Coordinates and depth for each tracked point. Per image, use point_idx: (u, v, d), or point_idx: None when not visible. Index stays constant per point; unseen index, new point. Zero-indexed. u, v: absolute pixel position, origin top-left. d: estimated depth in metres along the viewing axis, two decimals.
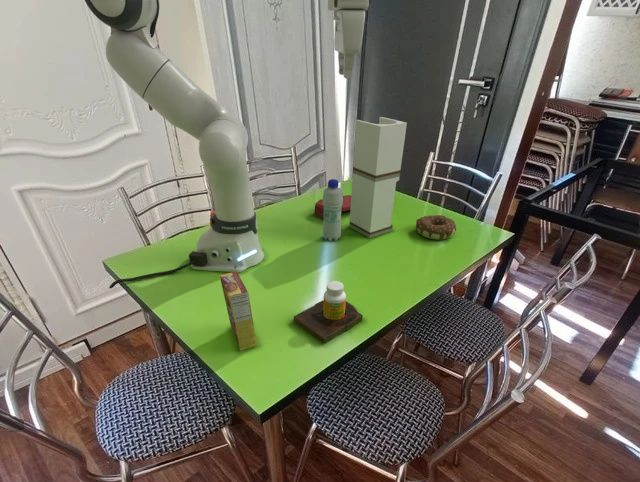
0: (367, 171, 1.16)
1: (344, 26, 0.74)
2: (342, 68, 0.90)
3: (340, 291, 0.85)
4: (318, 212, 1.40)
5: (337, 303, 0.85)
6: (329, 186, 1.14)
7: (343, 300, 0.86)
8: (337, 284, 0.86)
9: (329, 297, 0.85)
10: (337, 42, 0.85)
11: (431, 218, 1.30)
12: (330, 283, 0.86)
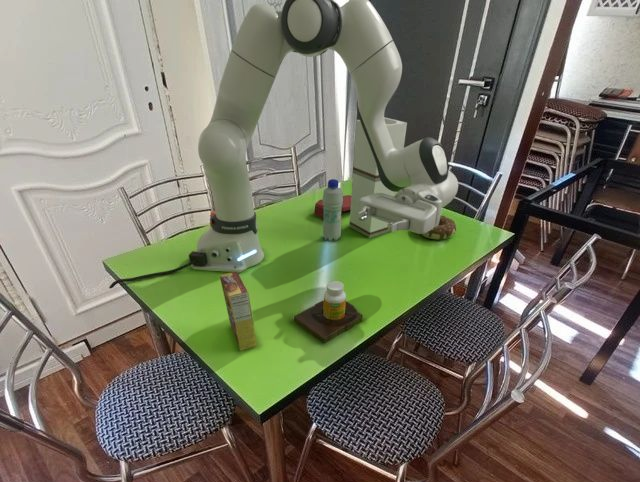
0: (367, 171, 1.16)
1: (433, 213, 0.83)
2: (365, 215, 0.88)
3: (340, 291, 0.85)
4: (318, 212, 1.40)
5: (337, 303, 0.85)
6: (329, 186, 1.14)
7: (343, 300, 0.86)
8: (337, 284, 0.86)
9: (329, 297, 0.85)
10: (385, 204, 0.88)
11: None
12: (330, 283, 0.86)
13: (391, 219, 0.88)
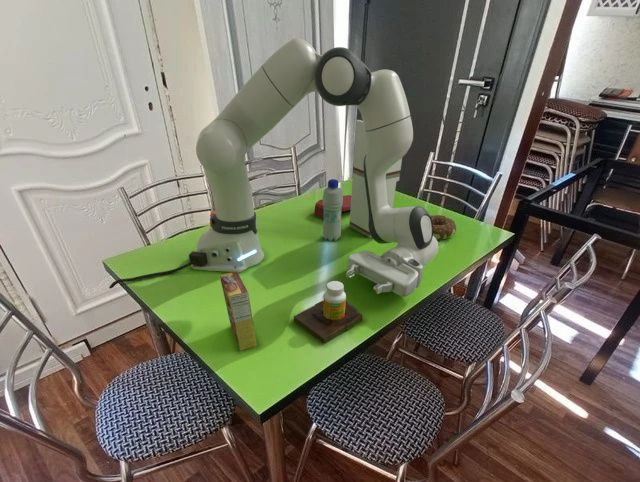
0: None
1: (415, 278, 0.91)
2: (353, 274, 0.95)
3: (340, 291, 0.85)
4: (318, 212, 1.40)
5: (337, 303, 0.85)
6: (329, 186, 1.14)
7: (343, 300, 0.86)
8: (337, 284, 0.86)
9: (329, 297, 0.85)
10: (372, 265, 0.96)
11: (431, 218, 1.30)
12: (330, 283, 0.86)
13: (377, 279, 0.95)
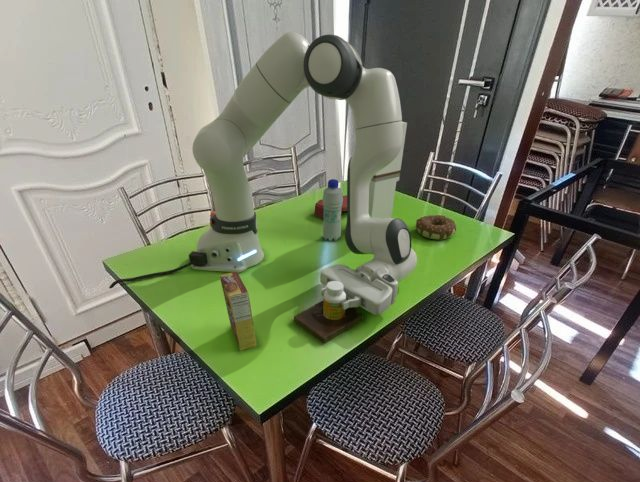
0: None
1: (389, 296, 0.85)
2: None
3: (340, 291, 0.85)
4: (318, 212, 1.40)
5: (337, 303, 0.85)
6: (329, 186, 1.14)
7: None
8: (337, 284, 0.86)
9: (329, 297, 0.85)
10: (344, 280, 0.91)
11: (431, 218, 1.30)
12: (330, 283, 0.86)
13: (349, 295, 0.90)
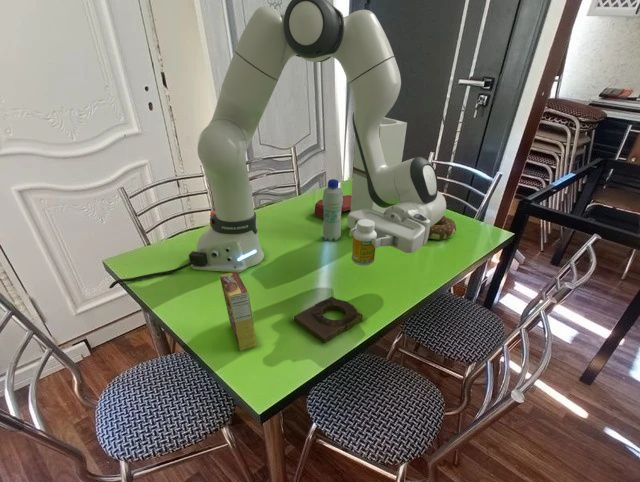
0: None
1: (422, 233, 0.82)
2: None
3: (372, 228, 0.81)
4: (318, 212, 1.40)
5: (368, 241, 0.82)
6: (329, 186, 1.14)
7: None
8: (368, 221, 0.83)
9: (359, 235, 0.82)
10: (374, 221, 0.87)
11: None
12: (360, 221, 0.83)
13: (379, 236, 0.87)
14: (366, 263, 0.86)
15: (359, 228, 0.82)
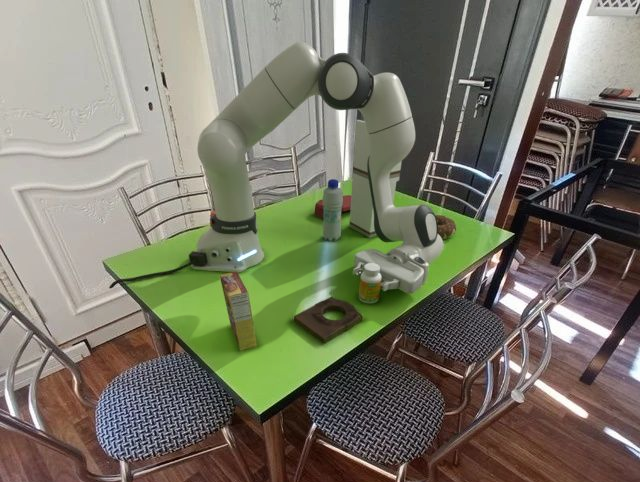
0: (367, 171, 1.16)
1: (421, 276, 0.92)
2: (359, 271, 0.97)
3: (377, 272, 0.91)
4: (318, 212, 1.40)
5: (373, 283, 0.92)
6: (329, 186, 1.14)
7: (379, 280, 0.93)
8: (374, 265, 0.93)
9: (366, 278, 0.92)
10: (378, 262, 0.97)
11: None
12: (367, 265, 0.93)
13: (383, 276, 0.97)
14: (372, 301, 0.96)
15: (366, 272, 0.92)
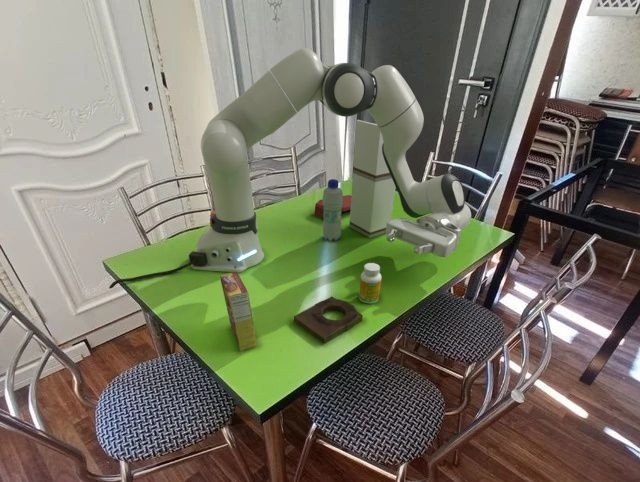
0: (367, 171, 1.16)
1: (454, 240, 0.95)
2: (393, 237, 1.00)
3: (377, 272, 0.91)
4: (318, 212, 1.40)
5: (374, 283, 0.92)
6: (329, 186, 1.14)
7: (379, 280, 0.93)
8: (374, 265, 0.93)
9: (366, 278, 0.92)
10: (411, 229, 1.01)
11: None
12: (367, 265, 0.93)
13: (416, 242, 1.00)
14: (372, 301, 0.96)
15: (366, 272, 0.92)
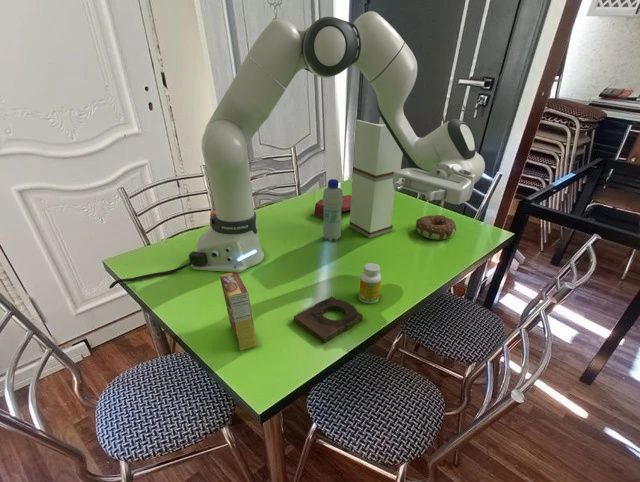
0: (367, 171, 1.16)
1: (469, 185, 0.87)
2: (401, 185, 0.91)
3: (377, 272, 0.91)
4: (318, 212, 1.40)
5: (374, 283, 0.92)
6: (329, 186, 1.14)
7: (379, 280, 0.93)
8: (374, 265, 0.93)
9: (366, 278, 0.92)
10: (420, 176, 0.92)
11: (431, 218, 1.30)
12: (367, 265, 0.93)
13: (426, 191, 0.91)
14: (372, 301, 0.96)
15: (366, 272, 0.92)
